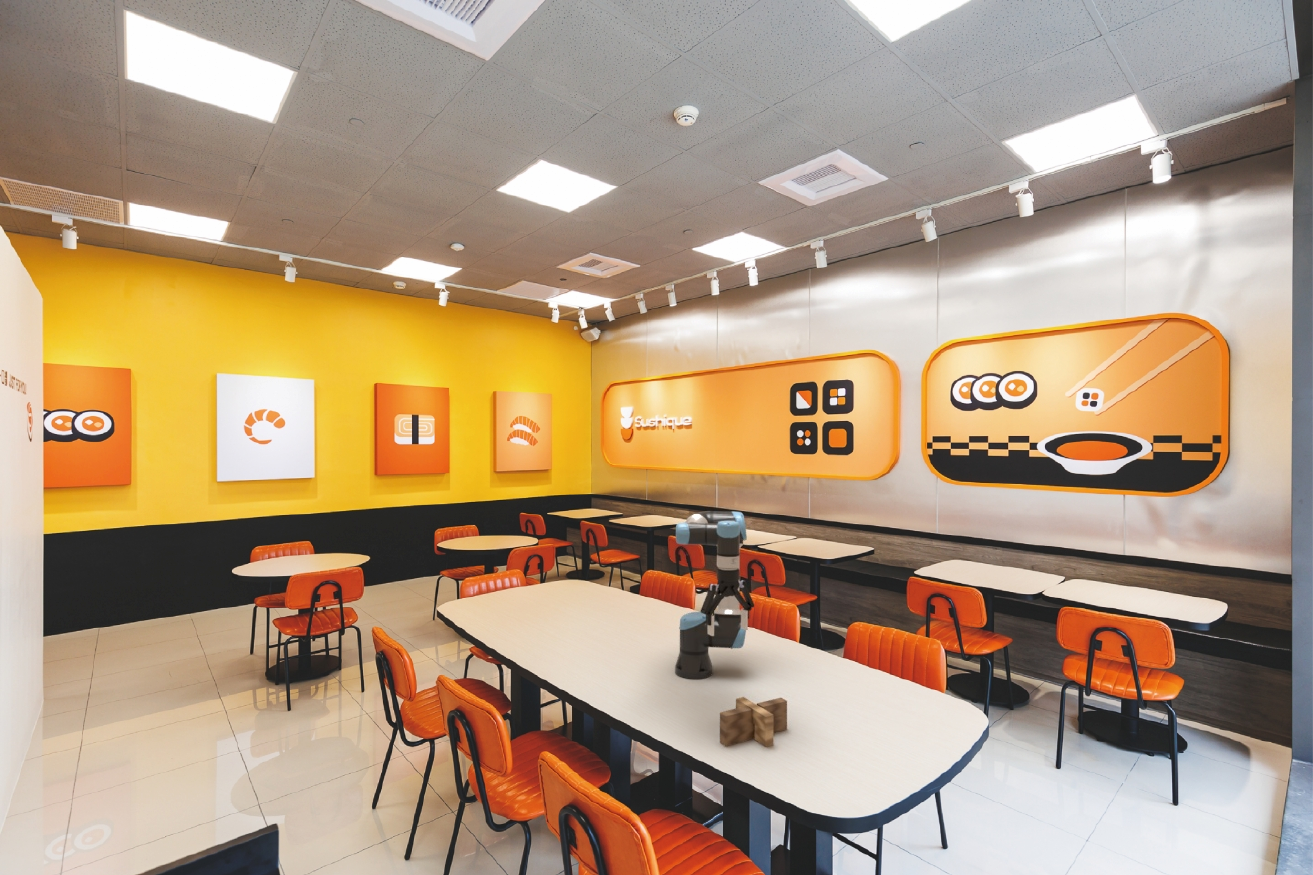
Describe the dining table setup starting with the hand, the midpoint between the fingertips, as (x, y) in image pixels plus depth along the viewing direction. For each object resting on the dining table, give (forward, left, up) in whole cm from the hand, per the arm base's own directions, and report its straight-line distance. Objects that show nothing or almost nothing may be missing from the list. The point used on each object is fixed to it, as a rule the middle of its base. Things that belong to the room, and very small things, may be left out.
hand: (727, 631), depth 201 cm
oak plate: (+10, -9, -29) cm, 32 cm away
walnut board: (+10, -9, -29) cm, 32 cm away
